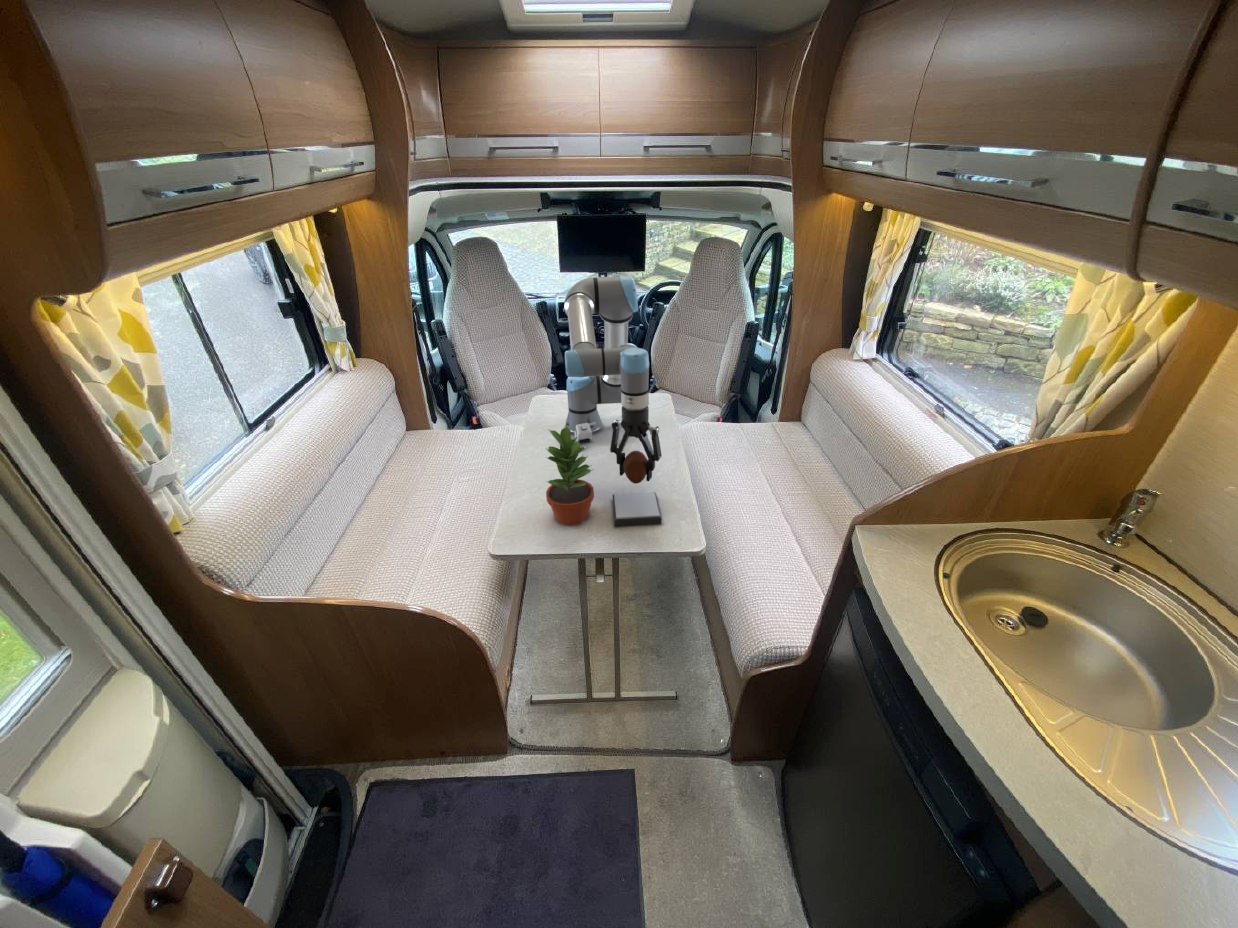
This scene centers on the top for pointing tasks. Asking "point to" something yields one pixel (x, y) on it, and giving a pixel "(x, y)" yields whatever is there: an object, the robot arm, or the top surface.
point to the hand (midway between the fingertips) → (635, 476)
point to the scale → (636, 509)
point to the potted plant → (569, 481)
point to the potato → (635, 466)
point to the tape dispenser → (583, 433)
